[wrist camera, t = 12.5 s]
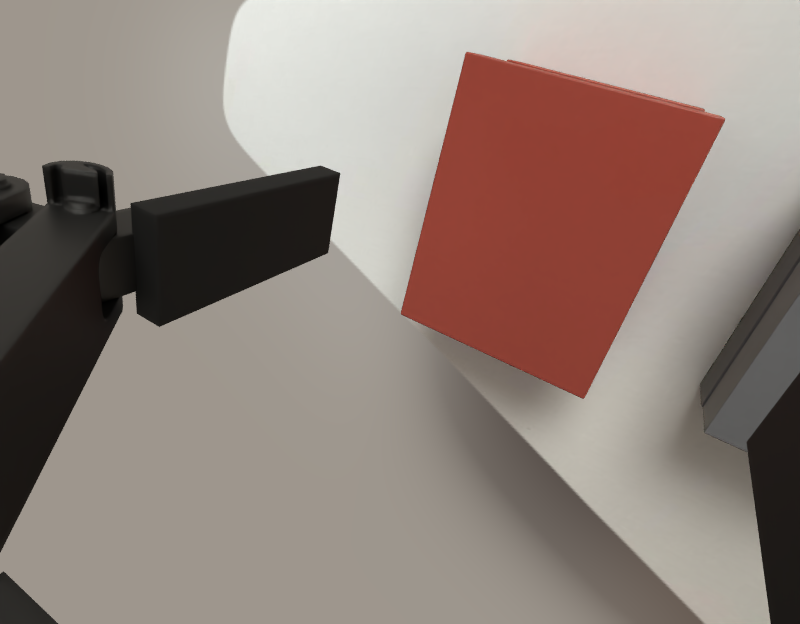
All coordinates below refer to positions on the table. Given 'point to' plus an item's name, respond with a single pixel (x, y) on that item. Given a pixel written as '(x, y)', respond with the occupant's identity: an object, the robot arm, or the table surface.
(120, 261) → the robot arm
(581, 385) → the thin red book
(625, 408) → the table surface
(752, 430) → the grey box
